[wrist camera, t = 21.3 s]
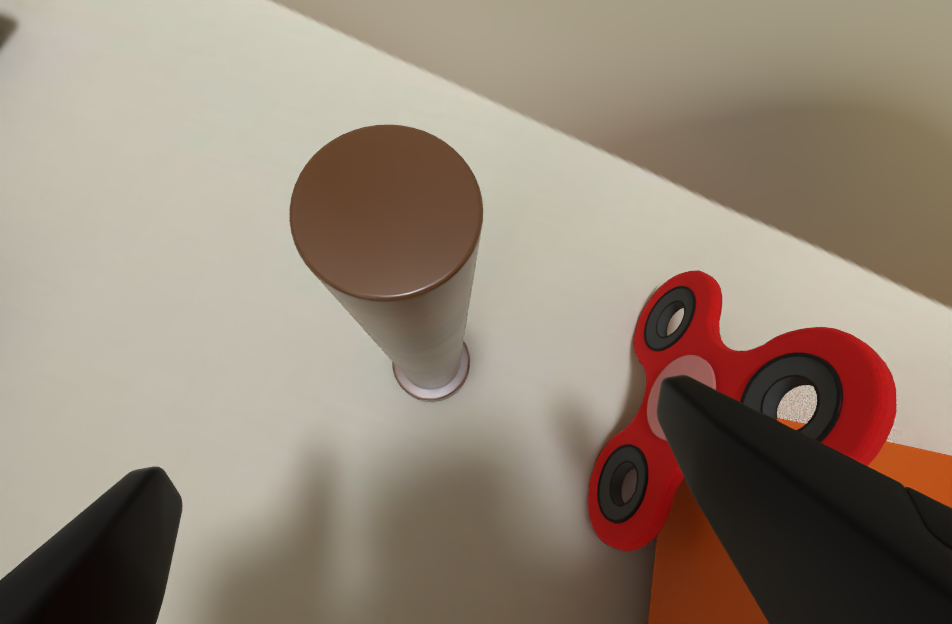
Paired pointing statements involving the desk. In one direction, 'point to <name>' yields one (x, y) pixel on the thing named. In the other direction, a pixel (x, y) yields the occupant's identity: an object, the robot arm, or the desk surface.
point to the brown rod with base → (396, 246)
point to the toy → (742, 378)
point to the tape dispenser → (710, 568)
